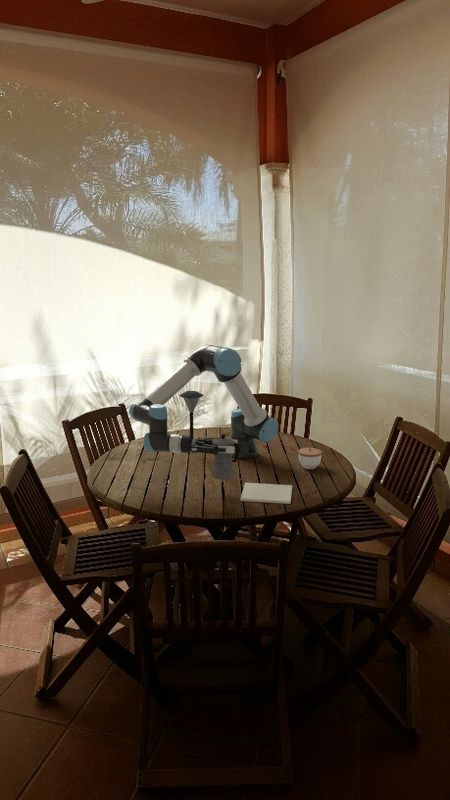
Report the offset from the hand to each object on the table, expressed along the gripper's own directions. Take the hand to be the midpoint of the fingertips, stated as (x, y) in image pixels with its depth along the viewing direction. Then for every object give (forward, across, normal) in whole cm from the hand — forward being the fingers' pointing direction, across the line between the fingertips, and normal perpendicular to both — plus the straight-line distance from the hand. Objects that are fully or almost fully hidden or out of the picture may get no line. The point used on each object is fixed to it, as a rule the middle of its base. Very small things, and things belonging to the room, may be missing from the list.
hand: (235, 446), depth 254 cm
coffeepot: (-4, 0, -13) cm, 14 cm away
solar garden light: (-29, -53, -20) cm, 64 cm away
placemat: (+13, 0, -20) cm, 24 cm away
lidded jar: (+30, -38, -20) cm, 52 cm away
